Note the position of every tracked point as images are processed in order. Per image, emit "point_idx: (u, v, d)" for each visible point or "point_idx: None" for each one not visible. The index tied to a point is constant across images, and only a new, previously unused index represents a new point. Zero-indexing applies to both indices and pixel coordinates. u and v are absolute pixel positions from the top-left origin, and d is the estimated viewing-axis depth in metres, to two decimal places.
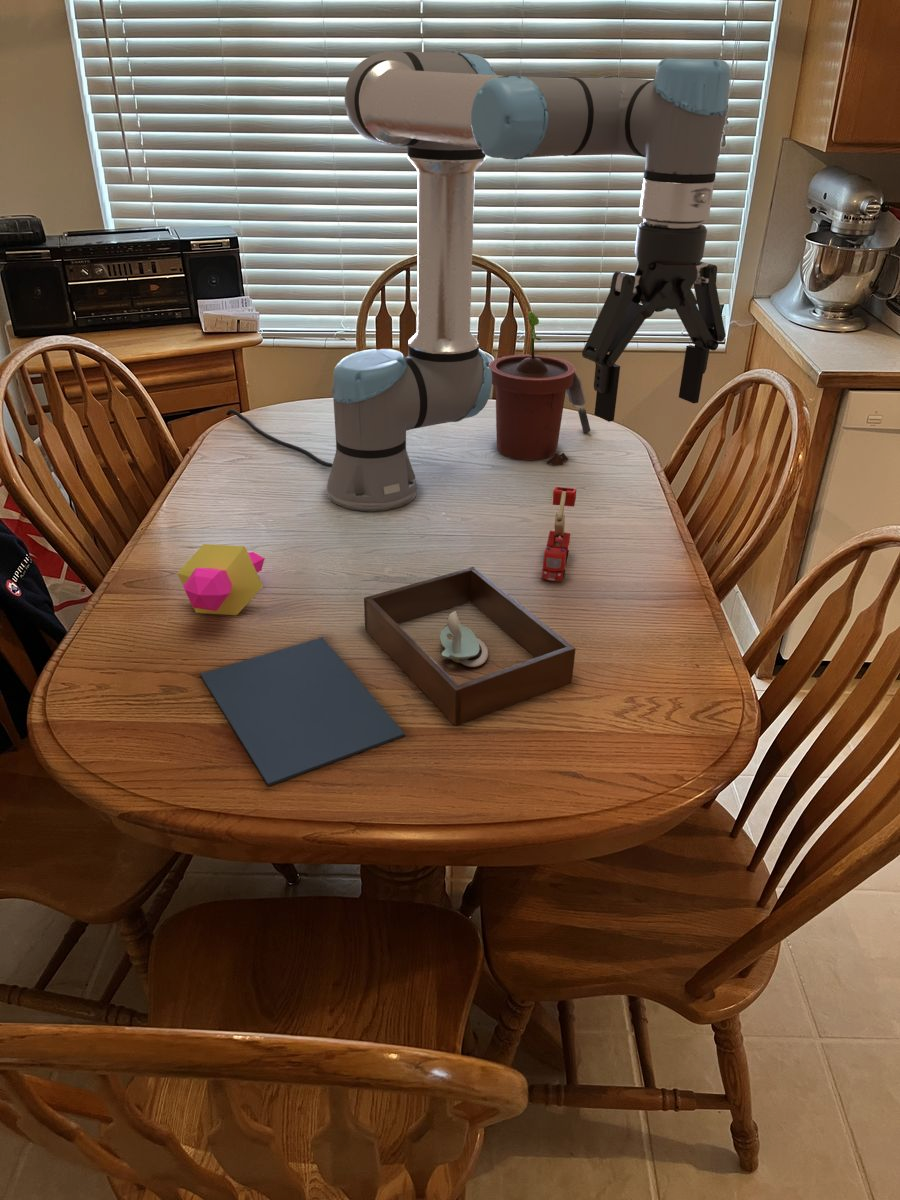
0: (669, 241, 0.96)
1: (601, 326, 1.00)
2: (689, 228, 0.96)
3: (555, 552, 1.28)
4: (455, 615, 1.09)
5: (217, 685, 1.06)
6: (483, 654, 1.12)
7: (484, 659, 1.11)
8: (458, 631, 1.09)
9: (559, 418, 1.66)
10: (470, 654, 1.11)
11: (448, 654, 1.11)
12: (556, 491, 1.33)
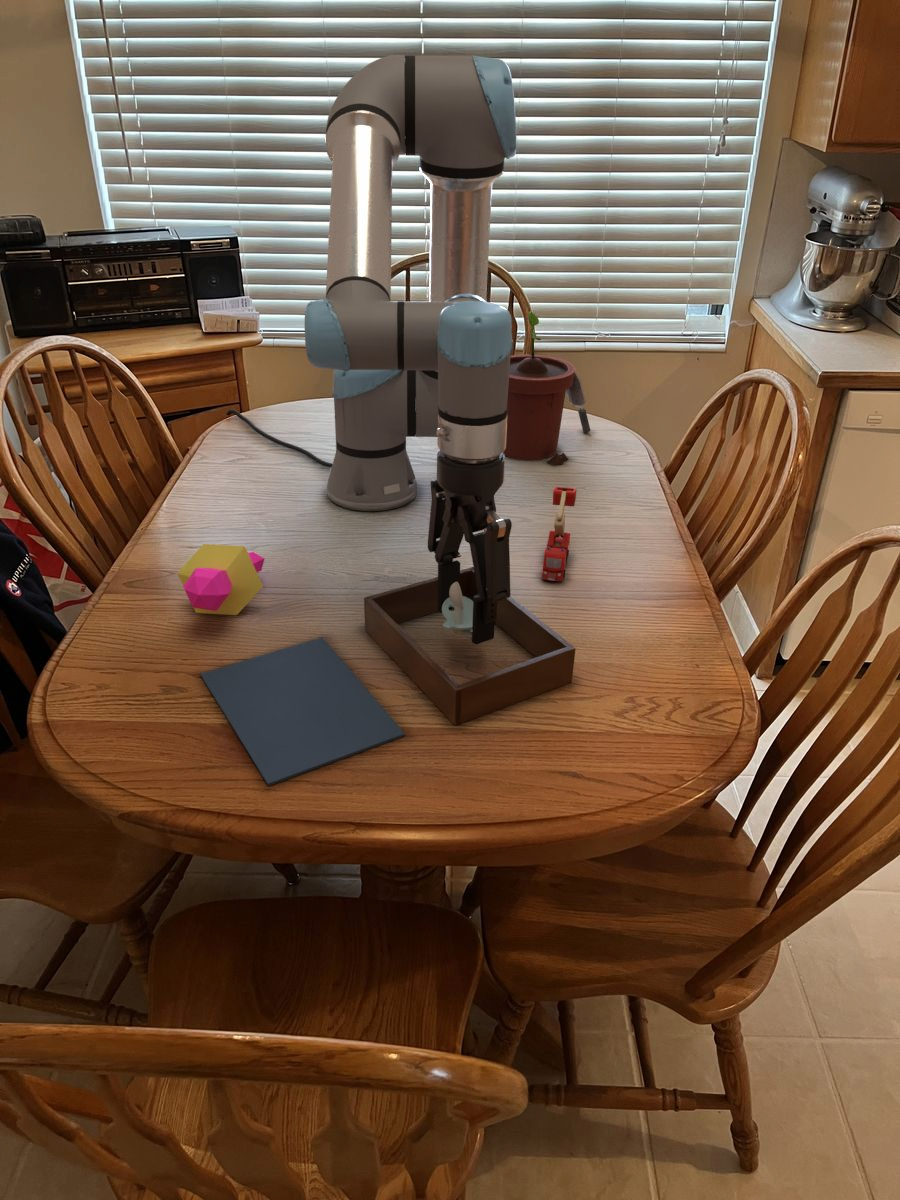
0: None
1: None
2: (445, 456, 0.98)
3: (555, 552, 1.28)
4: (457, 585, 1.07)
5: (217, 685, 1.06)
6: None
7: None
8: (460, 601, 1.07)
9: (559, 418, 1.66)
10: None
11: (450, 625, 1.09)
12: (556, 491, 1.33)
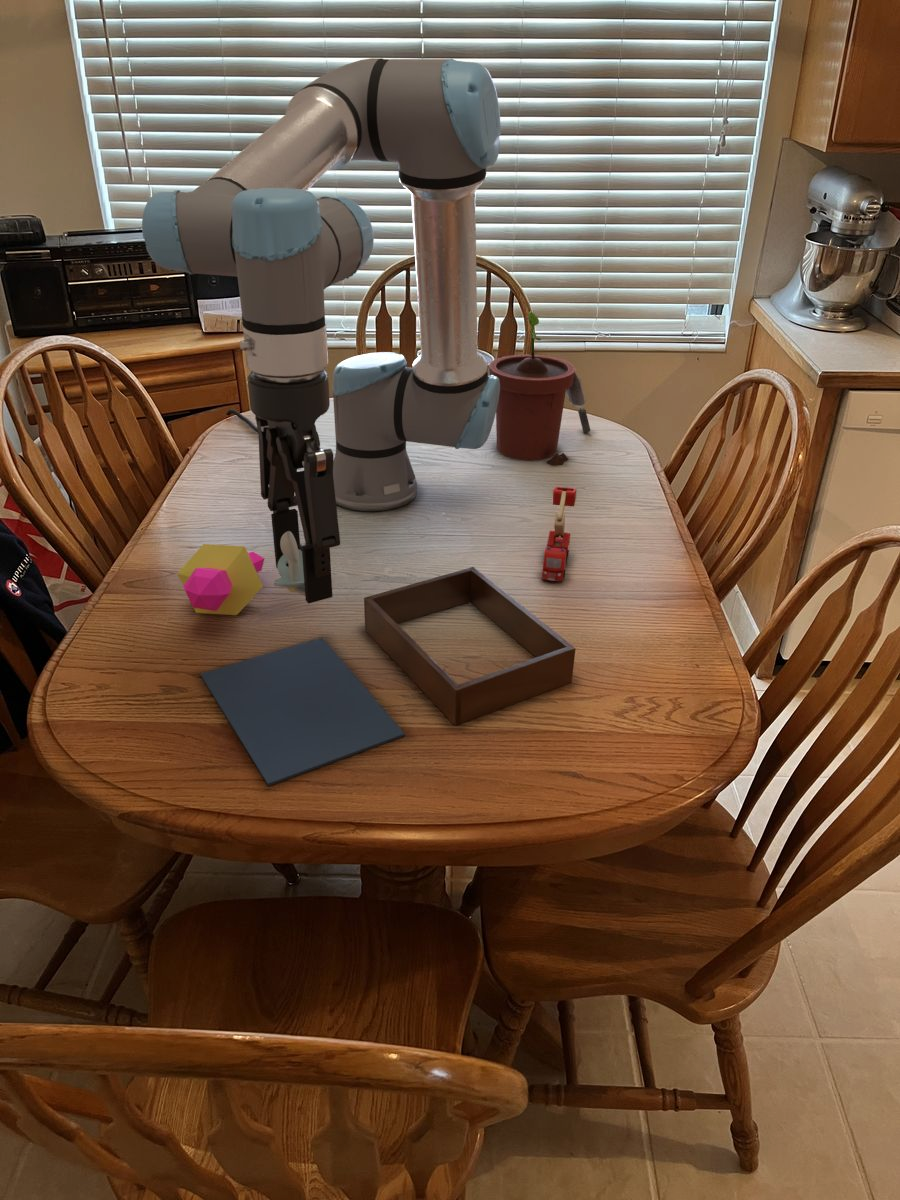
0: None
1: None
2: (255, 375, 0.83)
3: (555, 552, 1.28)
4: (288, 534, 0.92)
5: (217, 685, 1.06)
6: None
7: None
8: (291, 553, 0.92)
9: (559, 418, 1.66)
10: None
11: (282, 582, 0.94)
12: (556, 491, 1.33)
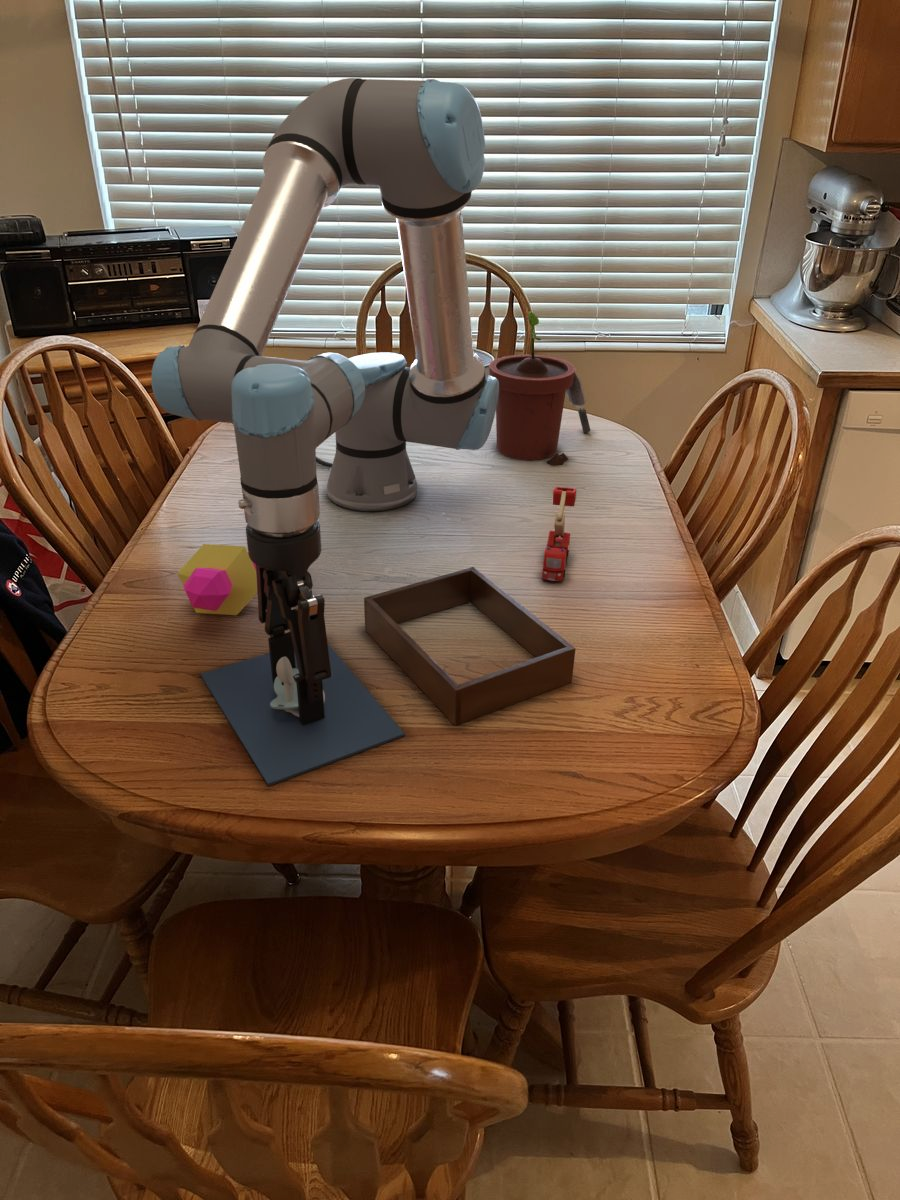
0: None
1: None
2: (252, 528, 0.91)
3: (555, 552, 1.28)
4: (283, 661, 1.00)
5: (217, 685, 1.06)
6: None
7: None
8: (286, 679, 1.00)
9: (559, 418, 1.66)
10: None
11: (278, 703, 1.01)
12: (556, 491, 1.33)
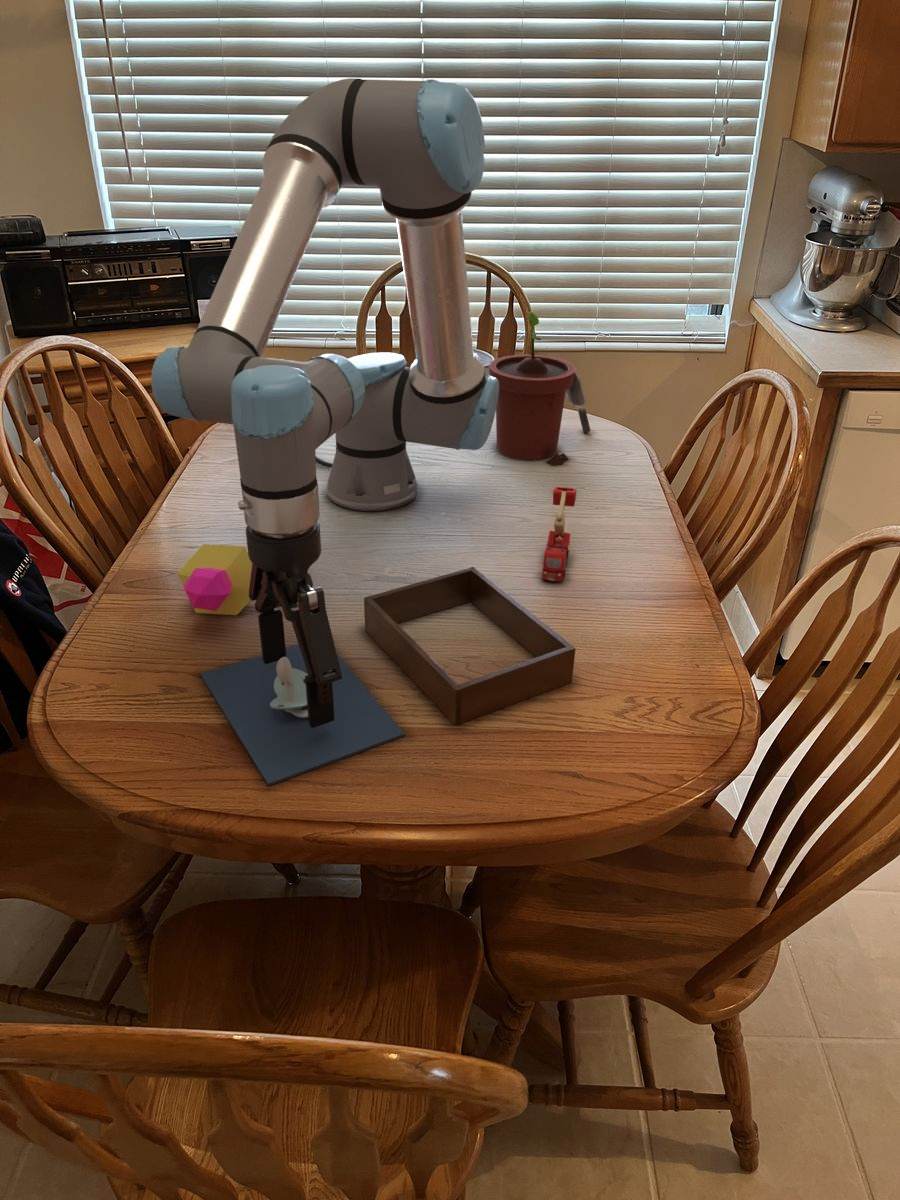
0: None
1: None
2: (252, 529, 0.91)
3: (555, 552, 1.28)
4: (283, 661, 1.00)
5: (217, 685, 1.06)
6: None
7: None
8: (286, 679, 1.00)
9: (559, 418, 1.66)
10: (302, 703, 1.01)
11: (278, 703, 1.01)
12: (556, 491, 1.33)
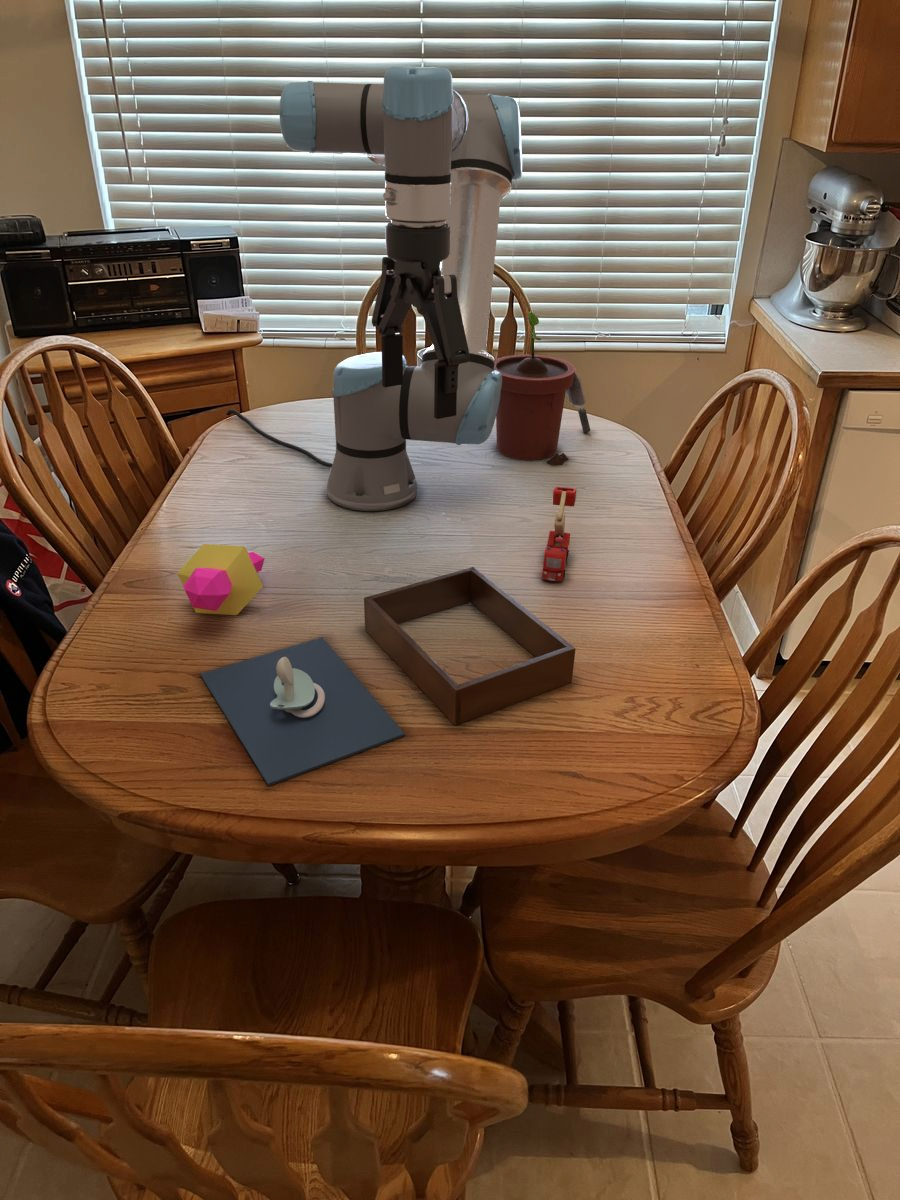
0: None
1: None
2: (392, 224, 1.03)
3: (555, 552, 1.28)
4: (283, 661, 1.00)
5: (217, 685, 1.06)
6: (318, 703, 1.02)
7: (317, 709, 1.01)
8: (286, 679, 1.00)
9: (559, 418, 1.66)
10: (302, 703, 1.01)
11: (278, 703, 1.01)
12: (556, 491, 1.33)
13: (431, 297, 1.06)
